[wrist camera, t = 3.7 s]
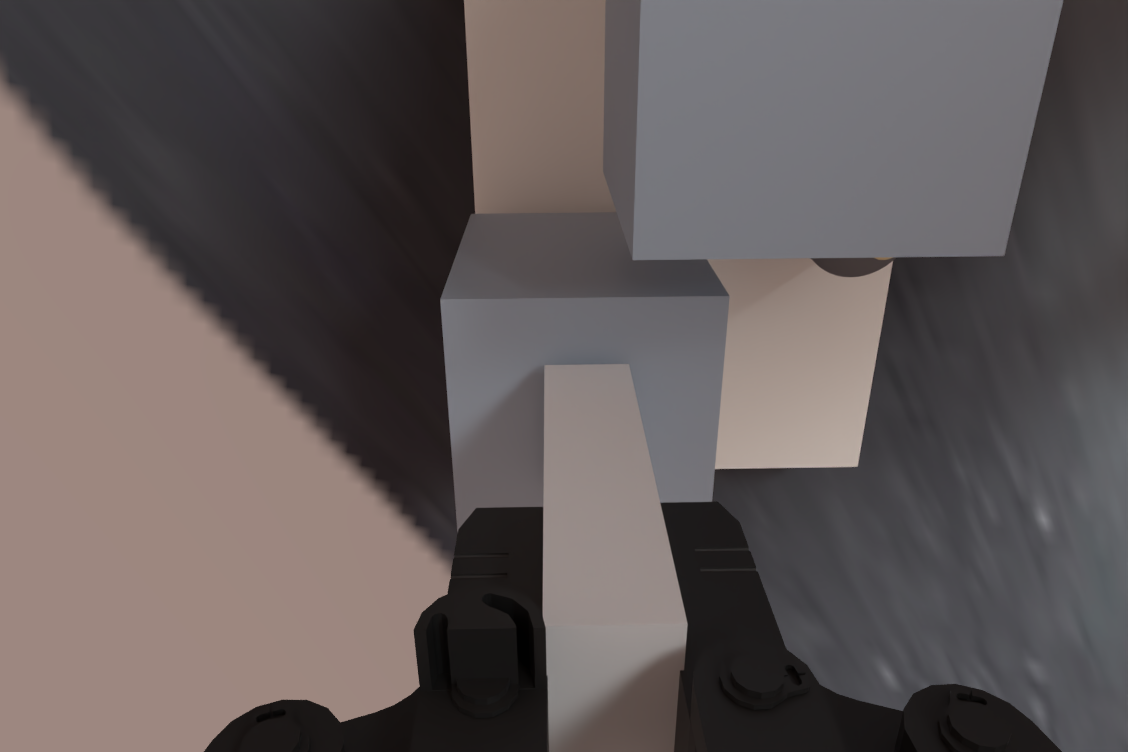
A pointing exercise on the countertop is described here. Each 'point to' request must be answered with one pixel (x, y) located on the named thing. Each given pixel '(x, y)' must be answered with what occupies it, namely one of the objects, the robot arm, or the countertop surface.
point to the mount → (756, 286)
